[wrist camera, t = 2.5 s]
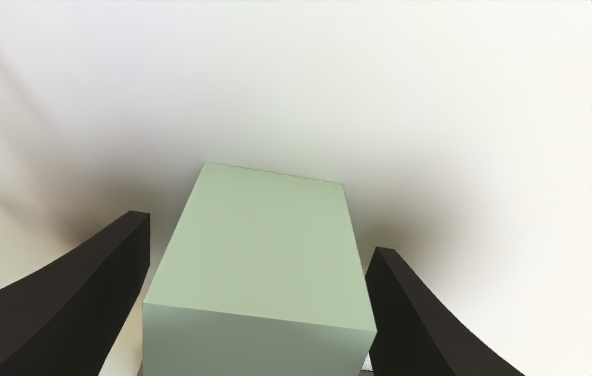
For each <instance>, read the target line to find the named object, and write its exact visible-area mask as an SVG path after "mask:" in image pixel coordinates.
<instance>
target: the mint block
mask: <svg viewBox="0 0 592 376" xmlns="http://www.w3.org/2000/svg"><path fill="white" fill-rule="evenodd" d="M376 333H377V329H376V325H375V320H374V316H373V312H372V308H371V303H370V299H369V295H368V291H367V287H366V282H365V278H364V274H363V270H362V265H361V261H360V257H359V253H358V249H357V244H356V240H355V236H354V232H353V227H352V223H351V219H350V215H349V211H348V206H347V202H346V198H345V194H344V189H343V185H342V184H340V183H334V182H328V181H322V180H315V179H309V178H303V177H297V176H291V175H285V174H279V173H272V172H266V171H260V170H254V169H248V168H242V167H236V166H230V165H223V164H217V163H211V162H205V163H204V165H203V167H202V170H201V172H200V174H199V176H198V179H197V181H196V183H195V185H194V188H193V190H192V192H191V194H190V197H189V199H188V201H187V203H186V206H185V208H184V210H183V212H182V215H181V217H180V219H179V221H178V224H177V226H176V228H175V230H174V233H173V235H172V237H171V240H170V242H169V244H168V246H167V249H166V251H165V253H164V255H163V258H162V260H161V262H160V264H159V267H158V269H157V271H156V273H155V276H154V278H153V280H152V282H151V285H150V287H149V289H148V291H147V294H146V296H145V298H144V300H143V376H358V375H359V373H360V370H361V368H362V366H363V363H364V361H365V359H366V357H367V354H368V352H369V350H370V347H371V345H372V343H373V340H374V338H375V336H376Z"/></svg>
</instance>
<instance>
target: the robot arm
mask: <svg viewBox="0 0 592 376" xmlns="http://www.w3.org/2000/svg"><path fill="white" fill-rule="evenodd" d="M149 266H150V213H143V212H137V211H128V212H127V213H126V214H124V215H123V216H121V217H120V218H118V219H117V220H115V221H114V222H112V223H111V224H110V225H108V226H107V227H105V228H104V229H103V230H101V231H100V232H98V233H97V234H95V235H94V236H92V237H91V238H89V239H88V240H87V241H85V242H84V243H82V244H81V245H79V246H78V247H76V248H75V249H73V250H71V251H70V252H68V253H66V254H65V255H63V256H61V257H60V258H58V259H57V260H55V261H53V262H52V263H50V264H48V265H47V266H45V267H43V268H41V269H39V270H38V271H36V272H34V273H32V274H30V275H28V276H26V277H24V278H22V279H20V280H18V281H16V282H14V283H12V284H10V285H8V286H6V287H4V288H2V289H0V376H98V375H99V372H100V370H101V368H102V366H103V364H104V362H105V359H106V357H107V355H108V354H109V352H110V350H111V348H112V346H113V344H114V342H115V340H116V338H117V336H118V334H119V332H120V330H121V328H122V327H123V325H124V323H125V321H126V319H127V317H128V315H129V313H130V311H131V309H132V307H133V305H134V303H135V301H136V299H137V297H138V295H139V293H140V291H141V288H142V285H143V283H144V280H145V277H146V274H147V271H148V268H149ZM365 282H366V287H367V291H368V295H369V299H370V303H371V308H372V312H373V316H374V320H375V325H376V329H377V333H376V336H375V338H374V340H373V343H372V345H371V347H370V350H369V356H370V360H371V365H372V369H373V373H374V376H525V375H524V374H522V373H521V372H519V371H518V370H517V369H516V368H514V367H513V366H512V365H510V364H509V363H508V362H507V361H505V360H504V359H503V358H501V357H500V356H499V355H498V354H496V353H495V352H494V351H493V350H491V349H490V348H489V347H488V346H487V345H486V344H484V343H483V342H482V341H481V340H480V339H479V338H478V337H476V336H475V335H474V334H473V333H472V332H471V331H470V330H469V329H467V328H466V327H465V326H464V325H463V324H462V323H461V322H460V321H459V320H458V319H457V318H456V317H455V316H454V315H453V314H452V313H451V312H450V311H449V310H448V309H447V308H446V307H445V306H444V305H443V304H442V303H441V302H440V300H439V299H438V298H437V297H436V296H435V295H434V294H433V293H432V292H431V291H430V290H429V288H428V287H427V286H426V285H425V284H424V283H423V282H422V280H421V279H420V278H419V277H418V276H417V275H416V274H415V272H414V271H413V270H412V269H411V268H410V267H409V265H408V264H407V263H406V262H405V261H404V260H403V258H402V257H401V256H400V255H399V254H398V253H397V252H396V251H395V250H394V249H389V248H382V247H376V248H375V251H374V254H373V257H372V259H371V262H370V265H369V267H368V270H367V273H366V275H365Z"/></svg>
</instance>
